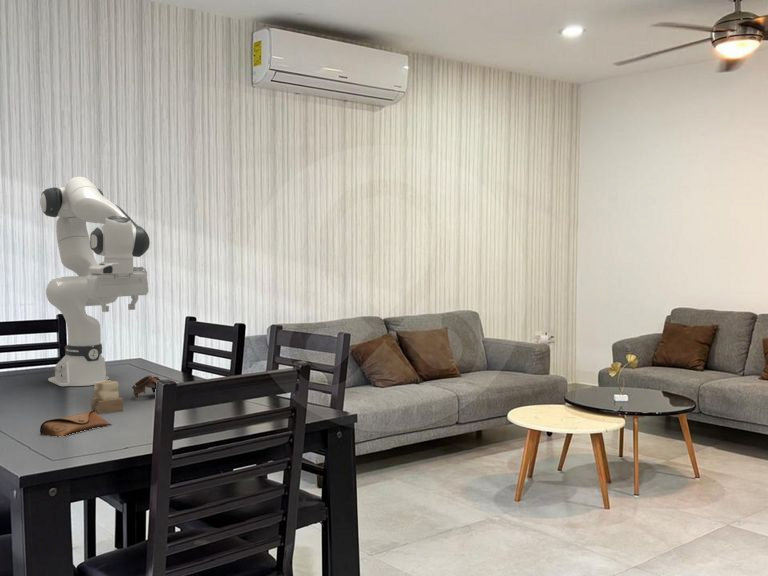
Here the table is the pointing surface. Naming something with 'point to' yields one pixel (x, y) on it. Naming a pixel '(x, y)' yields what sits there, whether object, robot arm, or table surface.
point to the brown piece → (145, 384)
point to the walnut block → (107, 405)
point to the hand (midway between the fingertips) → (118, 310)
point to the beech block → (106, 390)
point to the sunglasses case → (72, 424)
